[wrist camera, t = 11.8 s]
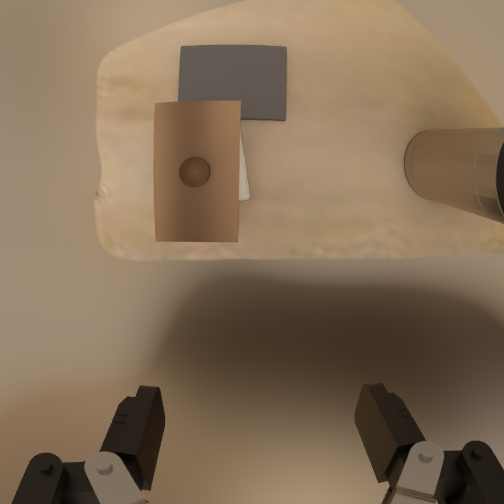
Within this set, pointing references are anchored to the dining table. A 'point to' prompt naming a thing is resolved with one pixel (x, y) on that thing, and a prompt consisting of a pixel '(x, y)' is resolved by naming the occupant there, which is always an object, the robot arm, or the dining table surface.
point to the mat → (236, 77)
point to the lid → (197, 171)
